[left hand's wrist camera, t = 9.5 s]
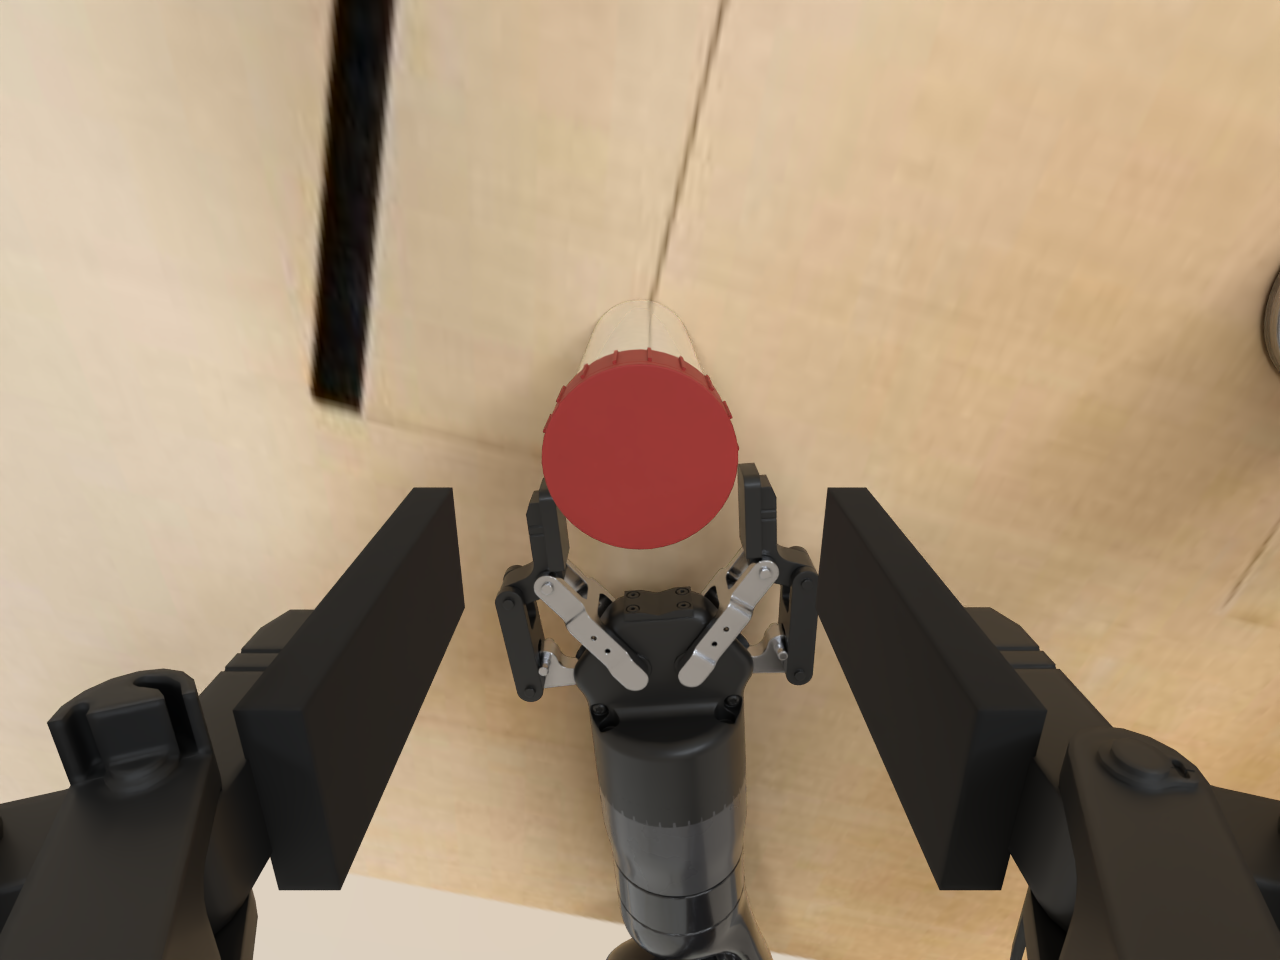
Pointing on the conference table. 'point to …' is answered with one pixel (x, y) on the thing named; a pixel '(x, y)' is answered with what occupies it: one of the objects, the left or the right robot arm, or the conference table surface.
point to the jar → (640, 332)
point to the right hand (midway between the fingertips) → (647, 475)
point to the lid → (639, 450)
